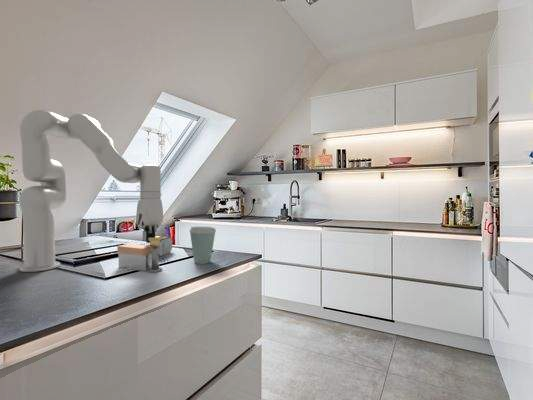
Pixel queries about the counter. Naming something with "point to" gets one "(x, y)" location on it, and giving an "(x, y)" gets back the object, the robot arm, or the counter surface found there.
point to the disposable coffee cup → (202, 243)
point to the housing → (141, 261)
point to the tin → (165, 245)
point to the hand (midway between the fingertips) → (150, 242)
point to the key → (154, 241)
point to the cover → (135, 249)
